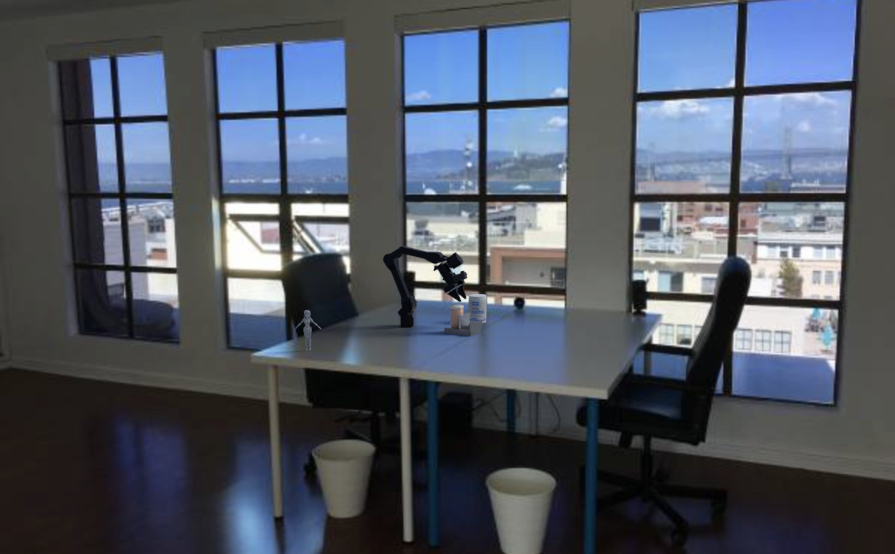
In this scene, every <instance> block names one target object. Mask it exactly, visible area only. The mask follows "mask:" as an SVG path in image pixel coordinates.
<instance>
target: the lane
mask: <svg viewBox="0 0 895 554" xmlns="http://www.w3.org/2000/svg"><path fill="white" fill-rule="evenodd" d="M443 329H444V330H443V331H444V334H450V335H456V336H464V337H465V336H466V337H474V336H476V335H478V334H482V333H483V323H482V320H479V321H475V322H472V323H469V330H462V329H454V328H451V327H444V328H443Z"/></svg>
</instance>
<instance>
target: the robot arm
mask: <svg viewBox="0 0 895 554" xmlns="http://www.w3.org/2000/svg"><path fill="white" fill-rule="evenodd" d="M405 255H406V256H411V257H415V258H419V259H423V260H425V261H426V262H429V263H431V264H434V266H433V270H432V271H433V272H435V271H438V273H439V274H440V276H441V278H442V279H441V280H442V281H443V282H445V284H446V286H445V287H443V292H444V294H446V295H448V296H449V297H451V298H452V299H454V300H456V301H457V302H458V303H461V302H462V299H461V298H463V299H464V300H466V299H467V295H466V291H465V285H466V281H465V280H467V279H468V276H467V275H468V273H467V272H466V271H465V270H460V271H459V272H460V273H456V272H453V271H452V270H455V269H457V268H458V267H460V266H462V265H463V264H464V260H463V258H462V256H461V255H459V254H458V253H457V252H453V253H452V254H451V255H450V256H447V255H445V254H443V252H442V251H438V250H437V251H434V250H432V251H431V250H430V251H429V250H422V249H418V248H414V247H410V246H406V245H401V246H399V247H398V248H396V249H395V250H393V251H392V252H390V253H389V252H388V253H386V254H384V256H383V257H382V261H383V263H384V265H385V266H386V268H387V269H388V270H389V271H390V273H391V275H392V278H393V280H394V283H395V286H396V288H397V290H398V293H399V295H400V305H401V307H400V309H399V310H398V311H397V314H398V316H399V325H398V326H399V327H400V328H412V327H414V324H415V323H414V321H415V317H413V314H414V311H415V310H416V309H417V306H418V305H417V303H418V301H417V300H416V297H415V295H411V293H410V292H409V290H408V287H407V285H406V282H405V279H404V277H403V275H402V272H401V270H400V261H399V259H400V258H401V257H403V256H405ZM460 296H461V297H460Z"/></svg>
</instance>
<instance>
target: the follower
mask: <svg viewBox="0 0 895 554" xmlns="http://www.w3.org/2000/svg"><path fill="white" fill-rule="evenodd" d="M469 323H470V313H468V312H465V313H464V314H461V315H459V329H462V330H469Z"/></svg>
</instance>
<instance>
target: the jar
mask: <svg viewBox="0 0 895 554" xmlns="http://www.w3.org/2000/svg"><path fill="white" fill-rule="evenodd" d="M449 307H450V328H454V329H459V315H461V314H465V313H464V311H465V310H464V309H465V305H464V304H451V305H450V306H449Z"/></svg>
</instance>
